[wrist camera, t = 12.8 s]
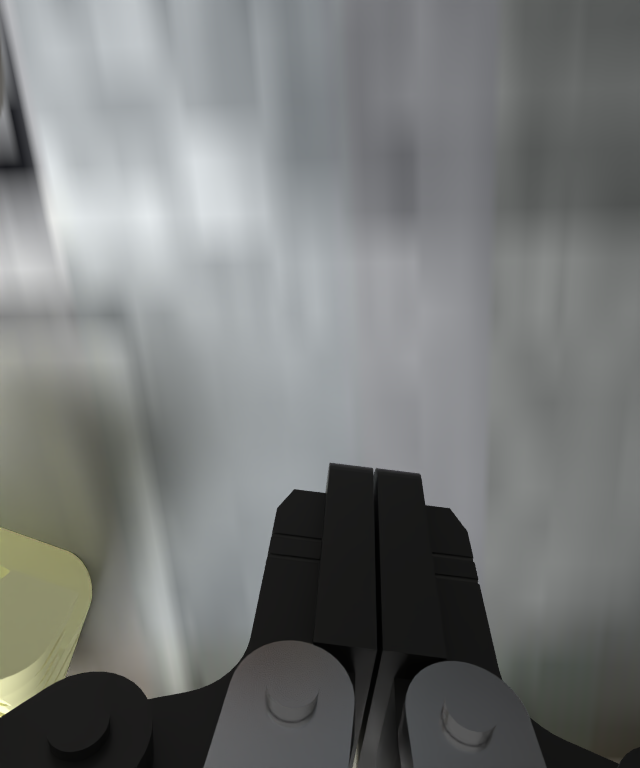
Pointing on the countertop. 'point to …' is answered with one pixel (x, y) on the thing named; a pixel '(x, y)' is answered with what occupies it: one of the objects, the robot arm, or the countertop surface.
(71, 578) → the slatted curved stool
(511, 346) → the countertop surface
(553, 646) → the countertop surface
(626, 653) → the countertop surface
